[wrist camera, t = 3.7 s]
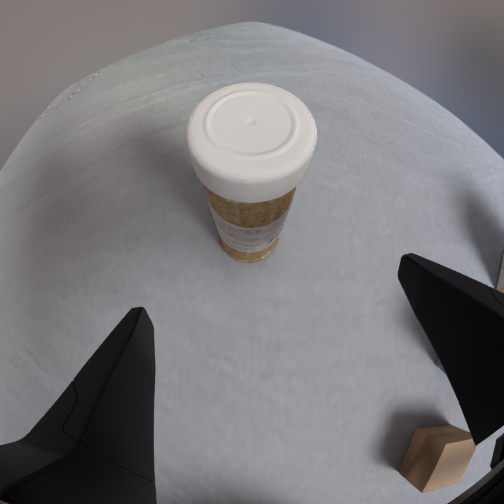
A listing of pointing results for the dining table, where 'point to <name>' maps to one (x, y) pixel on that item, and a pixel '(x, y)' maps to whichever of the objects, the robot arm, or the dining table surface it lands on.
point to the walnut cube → (437, 457)
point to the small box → (501, 278)
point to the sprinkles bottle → (250, 161)
